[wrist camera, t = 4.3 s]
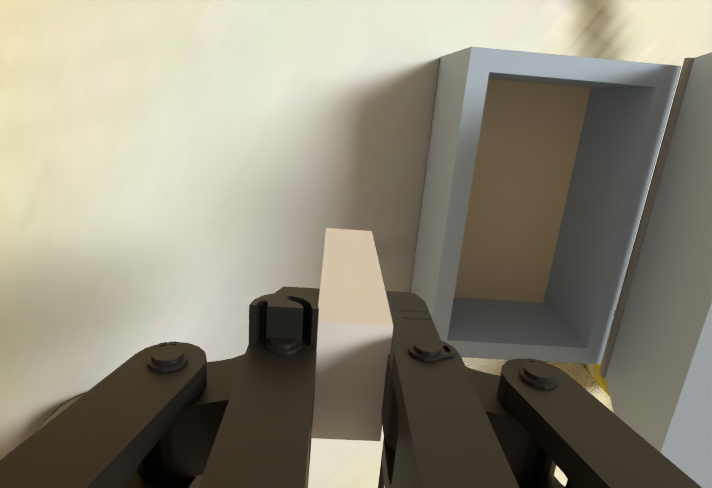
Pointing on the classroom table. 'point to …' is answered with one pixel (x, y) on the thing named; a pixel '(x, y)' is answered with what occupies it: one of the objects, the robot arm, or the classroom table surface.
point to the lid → (671, 292)
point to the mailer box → (535, 198)
